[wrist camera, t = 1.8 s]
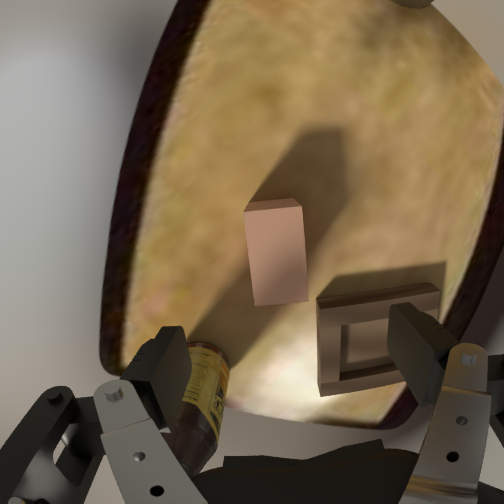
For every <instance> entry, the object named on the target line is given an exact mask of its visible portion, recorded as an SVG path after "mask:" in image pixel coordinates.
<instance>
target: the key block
mask: <svg viewBox="0 0 504 504" xmlns="http://www.w3.org/2000/svg"><path fill="white" fill-rule="evenodd" d="M243 215H244V223H245V231H246V240H247V248H248V256H249V264H250V272H251V280H252V288H253V296H254V304H255V306H266V305H277V304H287V303H296V302H306V301H309V300H308V281H307V265H306V251H305V237H304V225H303V213H302V206H301V205H300V204H299V203H298V202H297V201H296V200H295V199H294V198H285V199H275V200H265V201H256V202H249V203H248V204H247V206H246V208H245V210H244V212H243Z"/></svg>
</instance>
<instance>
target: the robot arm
mask: <svg viewBox="0 0 504 504" xmlns="http://www.w3.org/2000/svg"><path fill="white" fill-rule="evenodd" d="M393 1H395V2H397V3H399V4H402V5H405V6H408V7H414V8H422V7H426V6H428V5H429V4H430V3H431V2H433V1H434V0H393ZM387 349H388V352H389V355H390V356H391V358H392V360H393V361H394V363H395V365H396V366H397V368H398V369H399V371H400V373H401V374H402V376H403V378H404V379H405V381H406V383H407V385H408V386H409V388H410V390H411V391H412V393H413V395H414V397H415V398H416V400H417V402H418V404H419V405H420V407H424V406H428V405H430V404H433V406H434V409H433V412H432V415H431V418H430V422H429V425H428V427H427V430H426V433H425V436H424V438H423V441H422V444H421V446H420V449H419V451H418V453H415V452H411V451H407V450H401V449H385V448H384V446H383V443H382V440H381V439H377V440H373V441H368V442H364V443H359V444H354V445H349V446H344V447H341V448H338V449H336V450H333V451H330V452H327V453H325V454H322V455H319V456H316V457H313V458H310V459H306V460H298V459H289V458H280V457H272V456H264V455H260V456H224V462H223V467H219V468H214V469H211V470H207V471H205V472H202V473H199V474H197V475H195V476H193V477H191V478H189V477H188V475H187V474H186V473H185V471H184V470H183V468H182V467H181V465H180V464H179V462H178V461H177V459H176V458H175V456H174V454H173V453H172V451H171V450H170V448H169V447H168V445H167V443H166V442H165V440H164V438H163V437H162V435H161V433H160V432H165V433H171V431H172V428H173V425H174V422H175V419H176V416H177V414H178V411H179V408H180V405H181V402H182V399H183V396H184V393H185V391H186V388H187V385H188V382H189V379H190V376H191V373H192V362H191V357H190V353H189V349H188V345H187V341H186V337H185V333H184V330H183V328H182V326H163V327H162V328H161V329H160V331H159V332H158V334H157V335H156V337H155V339H150V340H149V341H147V342H146V343H145V344H143V345H142V346H141V347H140V349H139V350H138V352H137V355H135V356H134V358H133V359H132V361H131V362H130V364H129V365H128V367H127V368H126V370H125V371H124V373H123V374H122V376H121V377H120V379H119V380H112V381H109V382H106V383H104V384H102V385H101V386H99V387H98V388H97V389H96V391H95V393H94V396H92V397H82V398H75V396H74V394H73V392H72V390H71V389H70V388H69V387H66V386H56V387H52V388H50V389H48V390H46V391H45V392H44V393H42V395H41V396H40V397H39V398H38V399H37V401H36V402H35V403H34V405H33V406H32V407H31V409H30V410H29V411H28V412H27V414H26V415H25V416H24V418H23V419H22V420H21V422H20V423H19V424H18V426H17V427H16V428H15V430H14V431H13V433H12V434H11V435H10V437H9V438H8V440H7V441H6V442H5V444H4V445H3V446H2V448H1V449H0V504H84V501H85V499H86V496H87V494H88V491H89V489H90V487H91V484H92V481H93V479H94V477H95V474H96V472H97V470H98V467H99V465H100V463H101V460H102V458H103V456H104V455H107V458H108V461H109V464H110V467H111V469H112V472H113V475H114V477H115V480H116V482H117V485H118V487H119V490H120V492H121V494H122V497H123V499H124V501H125V504H504V491H503V490H500V489H498V488H495V487H493V486H490V485H487V484H485V483H482V482H480V481H479V477H480V473H481V468H482V463H483V458H484V453H485V447H486V441H487V435H488V427H489V424H490V426H491V427H492V429H493V431H494V432H495V434H496V435H497V437H498V439H499V441H500V442H501V444H502V446H503V447H504V354H502V355H491V356H488V355H487V353H486V351H485V350H484V349H482V348H481V347H479V346H477V345H474V344H467V343H466V344H460V343H459V342H458V341H457V340H456V339H455V338H454V337H453V336H452V335H451V334H450V333H449V332H448V331H447V330H446V329H444V327H443V326H442V325H441V324H439V322H438V321H437V320H436V319H435V318H434V317H433V316H431V315H429V314H427V313H425V312H423V311H421V312H420V311H419V310H418V309H417V308H416V307H415V306H414V305H413V304H412V303H411V302H403V303H398V304H392V305H391V306H390V310H389V321H388V333H387ZM60 439H61V440H62V442H63V443H64V445H65V448H64V449H63V451H62V453H61V455H60V457H59V458H58V460H57V462H56V464H54V462H53V452H54V450H55V448H56V446H57V444H58V443H59V441H60Z"/></svg>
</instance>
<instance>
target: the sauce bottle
mask: <svg viewBox="0 0 504 504" xmlns="http://www.w3.org/2000/svg"><path fill="white" fill-rule="evenodd" d="M188 349H189V353H190V357H191V362H192V373H191V376H190V379H189V382H188V385H187V388H186V391H185V393H184V396H183V399H182V402H181V405H180V408H179V411H178V414H177V416H176V419H175V422H174V425H173V428H172V431H171V433H165V432H160V433H161V435H162V437H163V438H164V440H165V442H166V443H167V445H168V447H169V448H170V450H171V451H172V453H173V454H174V456H175V458H176V459H177V461H178V462H179V464H180V465H181V467H182V468H183V470H184V471H185V473H186V474H187V475H188V477H189V478H191V477H193V476H195V475H197V474H199V472H200V471H201V470H202V468H203V467H204V466H205V464H206V463H207V461H208V460H209V459H210V458H211V457H212V456H213V454H214V453H215V452H216V449H217V446H218V440H219V434H220V427H221V423H222V417H223V411H224V405H225V399H226V393H227V387H228V381H229V366H228V361H227V358H226V356H225V355H224V354H223V352H221V351H220V350H218V349H217V348H216V347H214V346H212V345H210V344H206V343H190V344H188Z"/></svg>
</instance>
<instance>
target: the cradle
mask: <svg viewBox="0 0 504 504" xmlns="http://www.w3.org/2000/svg"><path fill="white" fill-rule="evenodd" d="M440 294H441V291H440V290H439V289H438V288H437V287H435V286H434V285H433V284H431V283H430V282H429V283H423V284H417V285H411V286H405V287H398V288H392V289H385V290H378V291H371V292H364V293H356V294H348V295H341V296H332V297H324V298H316V314H317V364H318V388H319V392H320V397H323V396H330V395H337V394H344V393H350V392H355V391H361V390H366V389H371V388H376V387H381V386H386V385H390V384H395V383H399V382H403V381H405V379H404V378H403V376H402V374H401V373H400V371H399V369H398V368H397V366H396V365H395V363H394V361H393V360H392V358H391V356H390V355H389V352H388V349H387V333H388V321H389V310H390V306H391V305H392V304H398V303H403V302H411V303H412V304H413V305H414V306H415V307H416V308H417V309H418V310H419V311H420V312H421V311H423V312H425V313H427V314H429V315H431V316H433V317H434V318H435V319H436V320H437V316H438V310H439V302H440Z"/></svg>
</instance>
